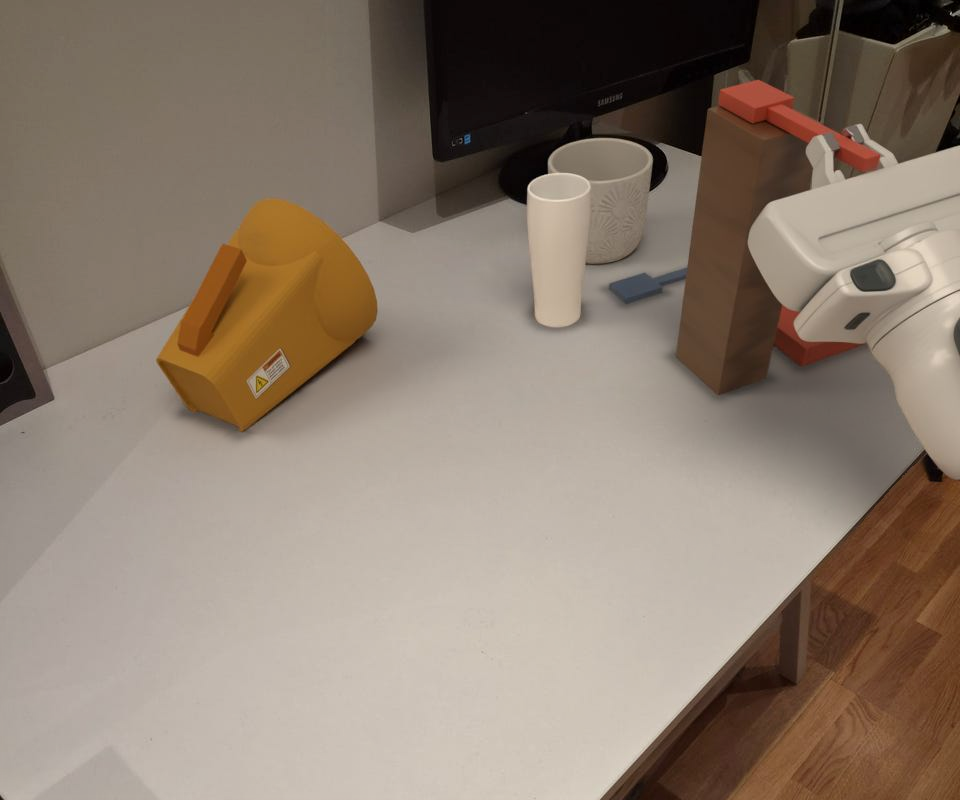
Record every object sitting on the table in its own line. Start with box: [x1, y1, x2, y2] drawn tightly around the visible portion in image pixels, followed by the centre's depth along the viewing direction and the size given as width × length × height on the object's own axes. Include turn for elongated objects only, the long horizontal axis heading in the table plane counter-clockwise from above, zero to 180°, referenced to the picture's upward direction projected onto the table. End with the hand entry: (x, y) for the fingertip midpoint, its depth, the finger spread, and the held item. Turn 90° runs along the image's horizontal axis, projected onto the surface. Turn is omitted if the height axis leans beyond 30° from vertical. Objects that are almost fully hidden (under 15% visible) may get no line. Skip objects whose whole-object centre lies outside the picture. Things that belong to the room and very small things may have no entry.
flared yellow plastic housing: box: [155, 197, 378, 433], centre depth 92 cm, size 20×17×18 cm
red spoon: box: [717, 79, 881, 173], centre depth 70 cm, size 4×17×1 cm, turn 25°
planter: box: [547, 137, 654, 265], centre depth 107 cm, size 12×12×11 cm
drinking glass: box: [526, 173, 591, 328], centre depth 96 cm, size 7×7×15 cm
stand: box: [675, 105, 824, 396], centre depth 83 cm, size 6×8×25 cm
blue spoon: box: [608, 267, 687, 305], centre depth 105 cm, size 4×17×1 cm, turn 115°
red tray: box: [773, 305, 868, 367], centre depth 98 cm, size 13×18×3 cm
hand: (831, 135), depth 68 cm, fingers closed on red spoon, 1 cm apart
